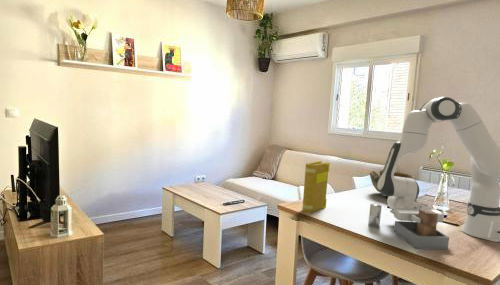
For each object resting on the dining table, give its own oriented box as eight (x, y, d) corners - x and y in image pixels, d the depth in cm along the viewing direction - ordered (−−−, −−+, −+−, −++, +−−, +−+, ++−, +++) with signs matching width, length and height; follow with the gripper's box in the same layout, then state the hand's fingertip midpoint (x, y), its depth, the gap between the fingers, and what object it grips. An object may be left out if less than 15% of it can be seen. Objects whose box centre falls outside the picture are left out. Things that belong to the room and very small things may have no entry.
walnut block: (427, 232, 139) (430, 209, 138) (435, 237, 134) (438, 213, 133) (416, 232, 139) (419, 209, 138) (423, 236, 134) (426, 213, 133)
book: (314, 204, 185) (318, 160, 183) (325, 207, 181) (329, 162, 178) (299, 210, 172) (303, 163, 170) (310, 213, 168) (314, 165, 165)
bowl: (358, 192, 221) (360, 170, 219) (387, 189, 232) (389, 169, 231) (391, 203, 196) (394, 179, 195) (422, 200, 208) (425, 177, 206)
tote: (422, 232, 150) (423, 222, 150) (447, 249, 133) (449, 237, 132) (393, 231, 149) (395, 221, 149) (415, 248, 132) (416, 236, 131)
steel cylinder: (376, 223, 159) (378, 203, 158) (381, 227, 154) (383, 206, 153) (366, 223, 159) (368, 203, 158) (370, 227, 154) (373, 206, 153)
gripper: (389, 203, 148) (405, 213, 134) (432, 205, 149) (453, 215, 135) (387, 216, 149) (403, 228, 135) (431, 218, 150) (451, 229, 136)
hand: (428, 221), depth 135 cm, fingers closed on walnut block, 5 cm apart
